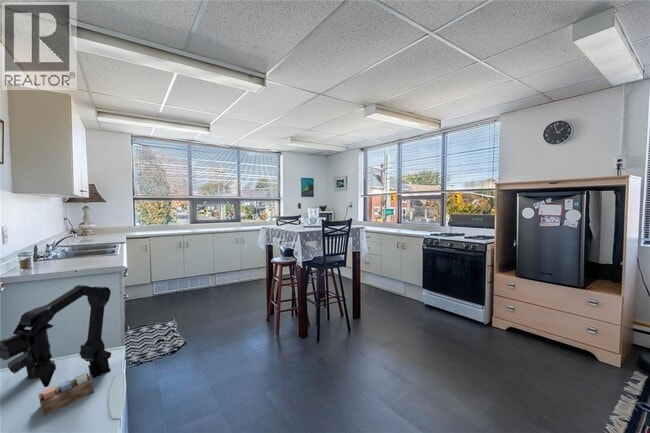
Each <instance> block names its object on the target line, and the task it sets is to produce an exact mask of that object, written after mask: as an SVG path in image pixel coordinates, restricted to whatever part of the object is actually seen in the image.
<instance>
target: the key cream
mask: <svg viewBox="0 0 650 433" xmlns="http://www.w3.org/2000/svg"><path fill="white" fill-rule="evenodd" d="M86 374H87V373H82V374H79V375H77V376H75V378H74V379H76V384H77V386H78V385H80V384H82V383H84V382H87V381H88V380H87V375H86Z"/></svg>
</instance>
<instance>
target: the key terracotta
mask: <svg viewBox="0 0 650 433" xmlns="http://www.w3.org/2000/svg"><path fill="white" fill-rule="evenodd" d="M54 388H55V387H54V386H51V387H49V388H47V389H44V390H42V391H41V393H43V398H44V400H46V399H48V398H50V397H53V396H55V390H54Z"/></svg>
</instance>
